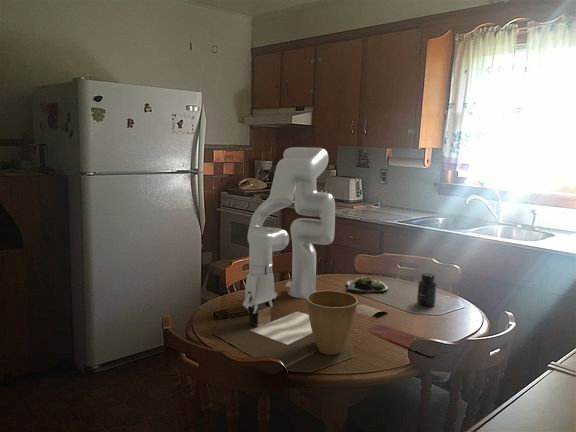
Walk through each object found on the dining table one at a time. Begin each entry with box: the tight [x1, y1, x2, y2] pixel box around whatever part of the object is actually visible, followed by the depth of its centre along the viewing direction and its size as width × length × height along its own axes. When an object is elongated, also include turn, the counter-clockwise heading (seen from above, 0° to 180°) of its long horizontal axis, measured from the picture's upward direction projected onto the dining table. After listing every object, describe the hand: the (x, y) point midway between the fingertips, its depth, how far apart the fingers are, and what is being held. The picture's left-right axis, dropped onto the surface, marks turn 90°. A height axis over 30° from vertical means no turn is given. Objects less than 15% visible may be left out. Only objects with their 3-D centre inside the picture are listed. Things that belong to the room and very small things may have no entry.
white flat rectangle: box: [249, 311, 313, 345], centre depth 154 cm, size 16×24×1 cm, turn 139°
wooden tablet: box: [366, 324, 420, 349], centre depth 148 cm, size 27×10×2 cm, turn 40°
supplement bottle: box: [416, 272, 437, 308], centre depth 181 cm, size 7×7×12 cm
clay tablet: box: [355, 304, 388, 318], centre depth 170 cm, size 14×10×3 cm
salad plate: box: [346, 276, 389, 294], centre depth 203 cm, size 19×18×5 cm
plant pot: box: [306, 290, 359, 356], centre depth 139 cm, size 15×15×16 cm
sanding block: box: [249, 304, 272, 327], centre depth 157 cm, size 4×6×5 cm, turn 139°
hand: (260, 320), depth 157 cm, fingers closed on sanding block, 6 cm apart
